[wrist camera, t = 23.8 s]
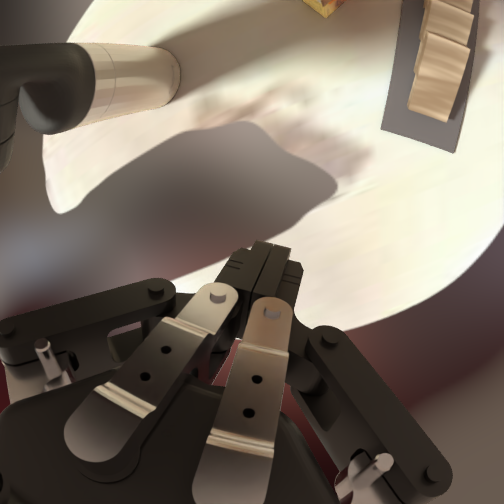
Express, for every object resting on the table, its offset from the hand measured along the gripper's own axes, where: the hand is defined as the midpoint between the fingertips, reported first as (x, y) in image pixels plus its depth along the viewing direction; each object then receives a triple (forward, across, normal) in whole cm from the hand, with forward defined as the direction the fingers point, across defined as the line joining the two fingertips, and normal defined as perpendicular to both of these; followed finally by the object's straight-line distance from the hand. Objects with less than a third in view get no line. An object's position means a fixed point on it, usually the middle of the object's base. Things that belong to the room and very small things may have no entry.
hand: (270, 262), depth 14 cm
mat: (+29, -12, -15) cm, 35 cm away
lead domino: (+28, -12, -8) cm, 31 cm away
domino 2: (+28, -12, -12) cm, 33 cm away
